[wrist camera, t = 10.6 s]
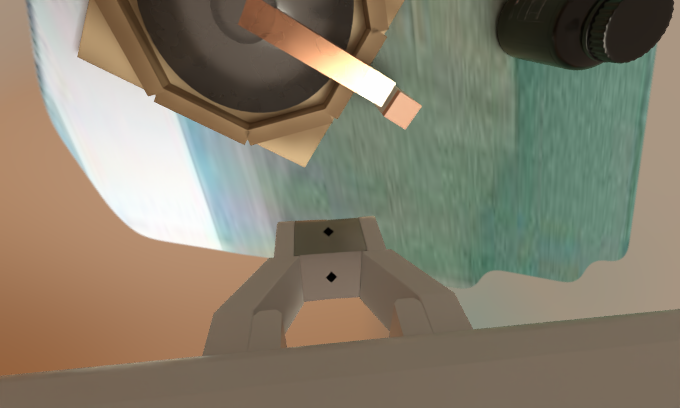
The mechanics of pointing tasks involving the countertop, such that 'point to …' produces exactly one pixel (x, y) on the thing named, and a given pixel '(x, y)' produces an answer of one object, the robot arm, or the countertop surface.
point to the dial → (261, 50)
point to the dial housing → (173, 93)
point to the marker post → (399, 107)
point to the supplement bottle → (582, 30)
